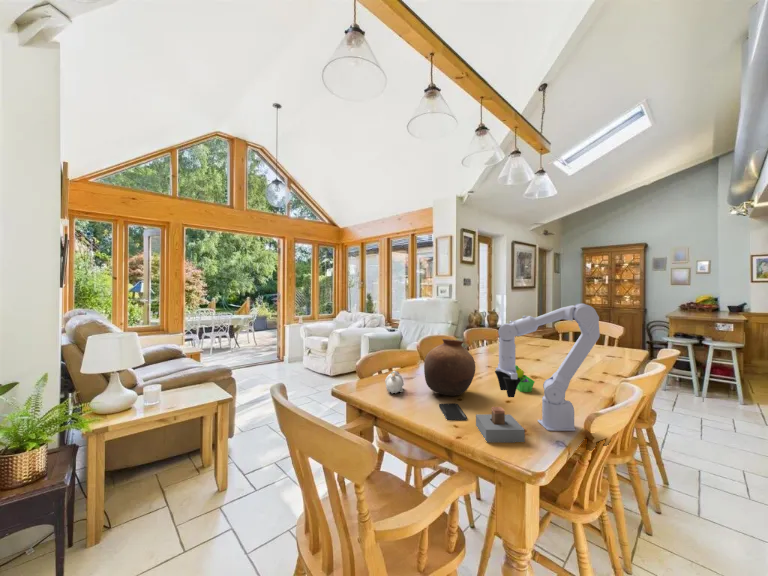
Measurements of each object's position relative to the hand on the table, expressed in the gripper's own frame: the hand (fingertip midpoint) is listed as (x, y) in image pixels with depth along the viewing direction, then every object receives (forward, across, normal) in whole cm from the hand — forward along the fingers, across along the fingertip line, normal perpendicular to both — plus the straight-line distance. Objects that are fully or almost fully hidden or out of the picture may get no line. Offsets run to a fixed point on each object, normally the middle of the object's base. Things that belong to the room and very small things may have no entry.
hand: (507, 393), depth 120 cm
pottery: (+10, -28, -16) cm, 34 cm away
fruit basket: (+10, -35, +19) cm, 41 cm away
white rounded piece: (+10, -32, -41) cm, 53 cm away
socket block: (+9, +12, -7) cm, 17 cm away
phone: (+10, -6, -19) cm, 22 cm away
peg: (+9, +12, -7) cm, 17 cm away
